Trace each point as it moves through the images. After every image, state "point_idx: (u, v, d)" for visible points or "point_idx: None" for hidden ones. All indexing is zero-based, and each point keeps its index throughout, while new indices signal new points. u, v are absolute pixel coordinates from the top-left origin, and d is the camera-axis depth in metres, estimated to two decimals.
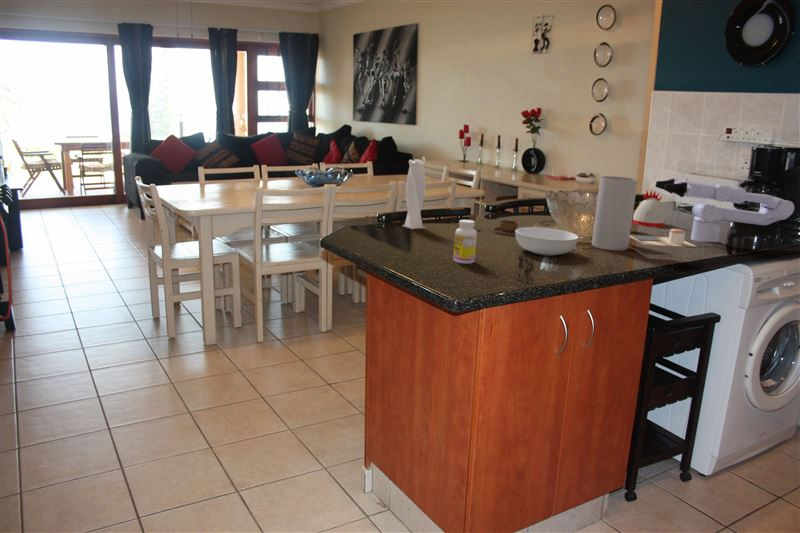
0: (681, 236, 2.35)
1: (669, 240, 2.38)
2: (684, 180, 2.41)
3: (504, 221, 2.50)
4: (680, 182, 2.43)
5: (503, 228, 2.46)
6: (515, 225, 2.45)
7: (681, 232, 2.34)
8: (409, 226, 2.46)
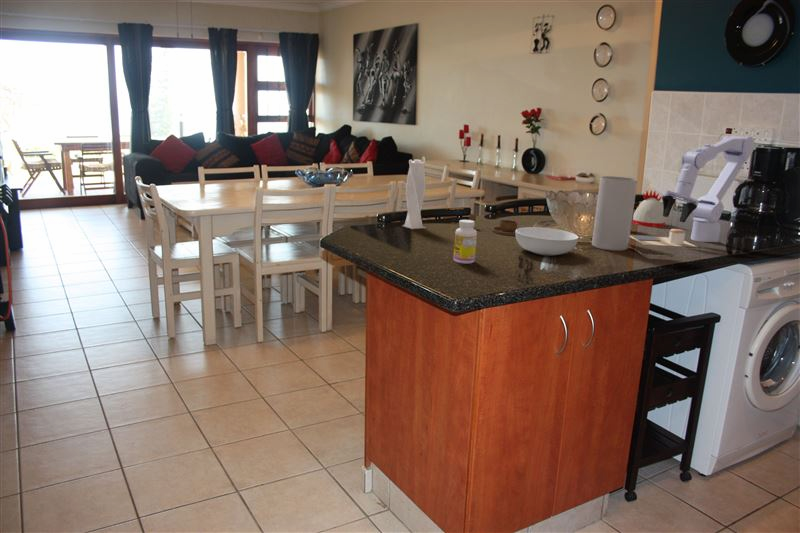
0: (681, 236, 2.35)
1: (669, 240, 2.38)
2: (687, 198, 2.33)
3: (504, 221, 2.51)
4: (679, 196, 2.33)
5: (502, 228, 2.46)
6: (514, 225, 2.45)
7: (681, 232, 2.34)
8: (409, 226, 2.46)
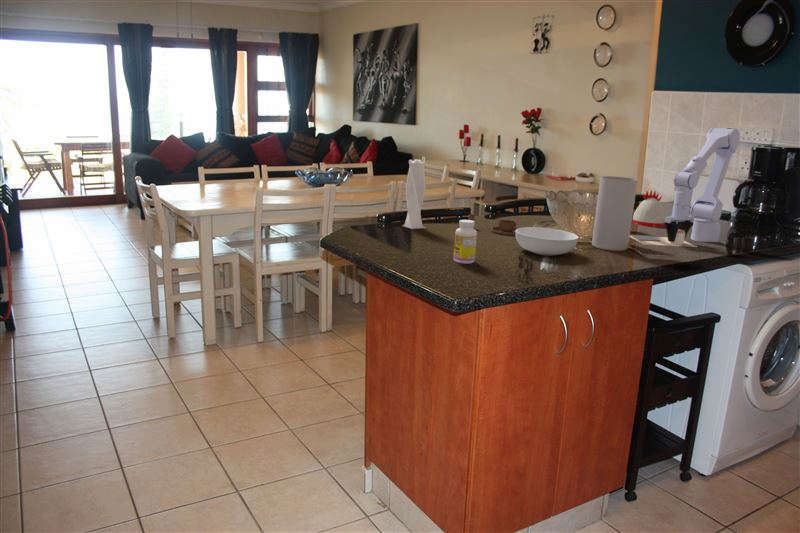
0: (681, 236, 2.35)
1: None
2: (687, 219, 2.33)
3: (503, 221, 2.51)
4: (680, 219, 2.33)
5: (501, 227, 2.46)
6: (513, 225, 2.45)
7: (681, 232, 2.34)
8: (409, 226, 2.46)
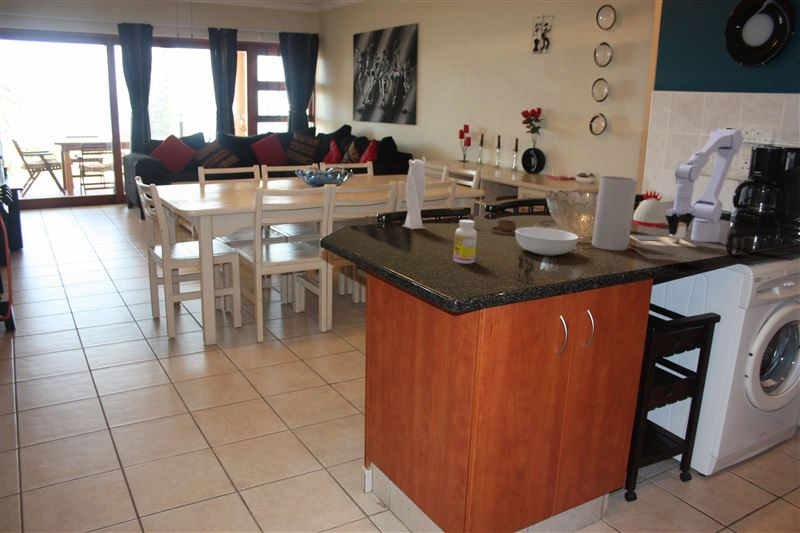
0: (682, 229, 2.34)
1: None
2: (689, 212, 2.33)
3: (502, 221, 2.51)
4: (681, 212, 2.32)
5: (500, 227, 2.46)
6: (512, 225, 2.45)
7: (682, 225, 2.34)
8: (409, 226, 2.46)
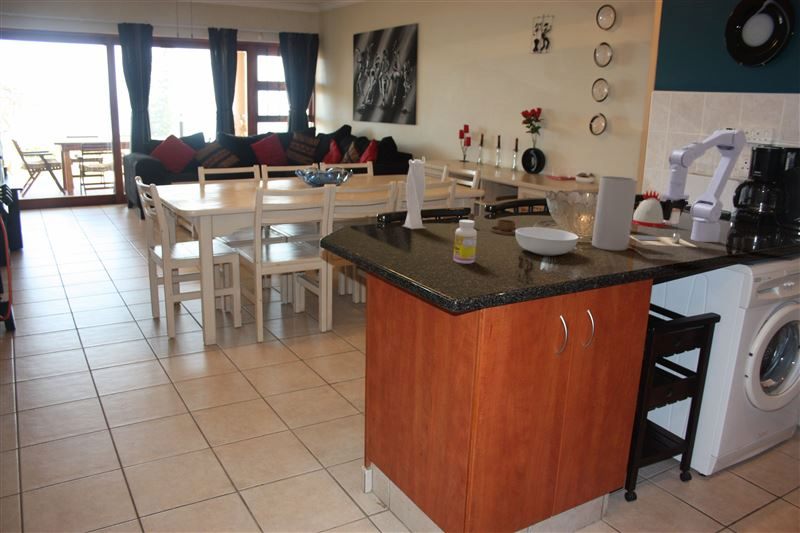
0: (676, 215, 2.34)
1: None
2: None
3: (502, 220, 2.51)
4: None
5: (500, 227, 2.47)
6: (512, 224, 2.46)
7: (676, 211, 2.34)
8: (409, 226, 2.46)
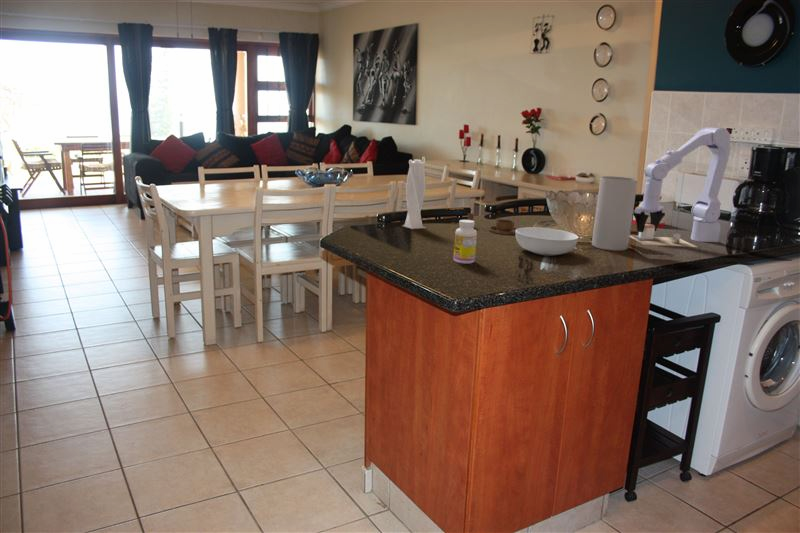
0: (651, 231, 2.40)
1: (639, 235, 2.43)
2: (657, 210, 2.38)
3: (501, 220, 2.52)
4: (650, 210, 2.38)
5: (498, 227, 2.47)
6: (510, 224, 2.46)
7: (651, 227, 2.40)
8: (409, 226, 2.46)
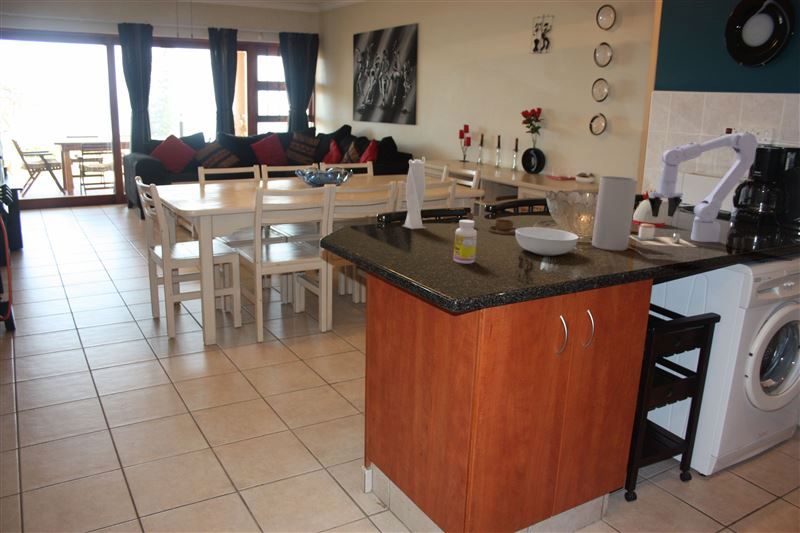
0: (651, 231, 2.40)
1: (639, 235, 2.43)
2: (672, 195, 2.43)
3: (500, 220, 2.52)
4: (665, 195, 2.43)
5: (497, 227, 2.47)
6: (509, 224, 2.46)
7: (651, 227, 2.40)
8: (409, 226, 2.46)
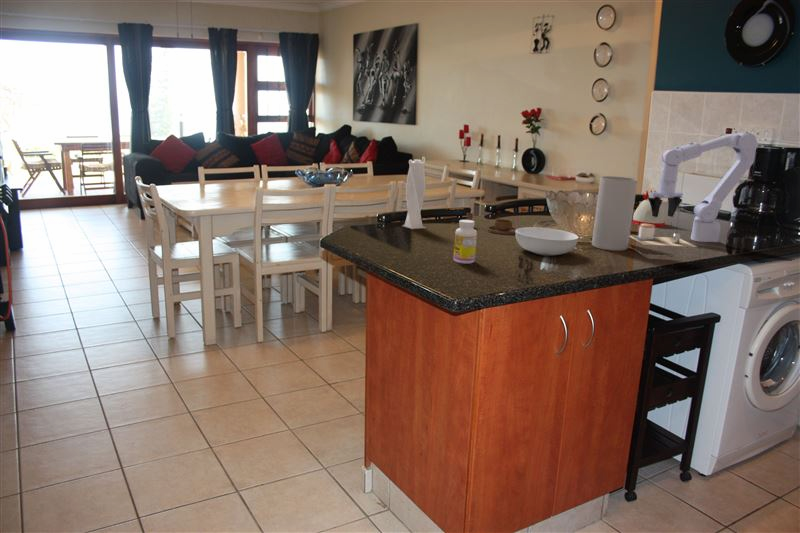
0: (651, 231, 2.40)
1: (639, 235, 2.43)
2: (672, 195, 2.43)
3: (500, 220, 2.52)
4: (665, 195, 2.43)
5: (496, 227, 2.48)
6: (508, 224, 2.46)
7: (651, 227, 2.40)
8: (409, 226, 2.46)
